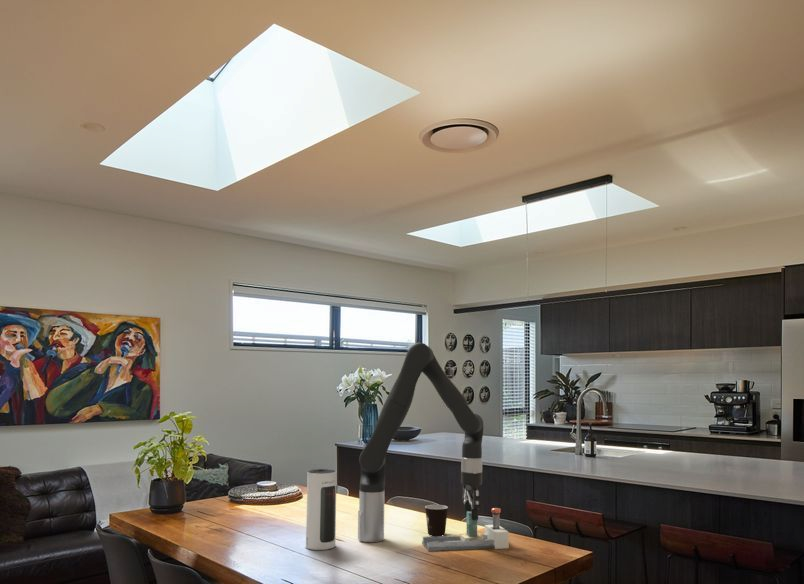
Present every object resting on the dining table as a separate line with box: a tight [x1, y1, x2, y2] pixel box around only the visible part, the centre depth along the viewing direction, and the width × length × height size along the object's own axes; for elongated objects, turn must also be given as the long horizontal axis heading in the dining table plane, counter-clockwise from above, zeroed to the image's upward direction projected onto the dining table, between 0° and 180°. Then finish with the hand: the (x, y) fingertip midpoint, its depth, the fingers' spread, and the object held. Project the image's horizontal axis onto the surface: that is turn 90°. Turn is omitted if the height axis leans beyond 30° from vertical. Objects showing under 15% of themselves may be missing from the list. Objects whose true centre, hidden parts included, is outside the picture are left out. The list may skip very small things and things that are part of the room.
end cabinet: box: [484, 524, 510, 550], centre depth 220 cm, size 5×11×6 cm, turn 11°
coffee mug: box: [424, 504, 449, 536], centre depth 236 cm, size 12×9×10 cm
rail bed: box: [421, 533, 495, 552], centre depth 218 cm, size 27×10×3 cm, turn 101°
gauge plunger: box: [491, 507, 501, 530], centre depth 221 cm, size 3×3×9 cm
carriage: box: [459, 510, 484, 540], centre depth 219 cm, size 7×5×10 cm
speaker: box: [305, 468, 337, 551], centre depth 217 cm, size 11×10×26 cm
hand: (471, 517), depth 219 cm, fingers open, 8 cm apart
